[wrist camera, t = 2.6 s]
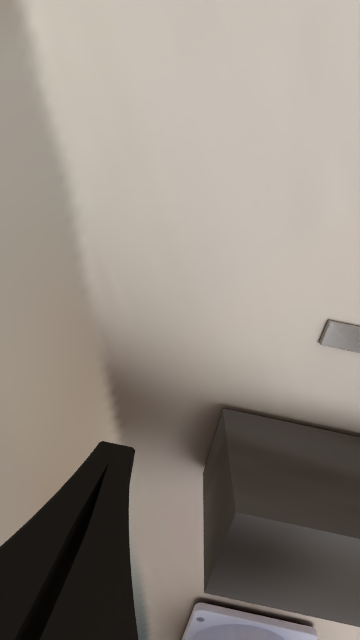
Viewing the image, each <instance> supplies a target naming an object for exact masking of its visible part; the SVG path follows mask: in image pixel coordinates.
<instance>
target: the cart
mask: <svg viewBox="0 0 360 640" xmlns="http://www.w3.org/2000/svg"><path fill="white" fill-rule="evenodd" d="M203 506H204V593H208V594H212V595H217V596H221V597H226V598H230V599H235V600H239V601H244V602H249V603H253V604H258V605H262V606H267V607H271V608H276V609H280V610H285V611H289V612H294V613H298V614H303V615H307V616H312V617H316V618H321V619H325V620H330V621H335V622H339V623H344V624H348V625H353V626H357V627H360V437H356V436H352V435H347V434H342V433H337V432H333V431H328V430H323V429H319V428H314V427H309V426H304V425H300V424H295V423H290V422H286V421H281V420H276V419H271V418H267V417H262V416H257V415H253V414H248V413H243V412H238V411H234V410H229V409H224V408H223V410H222V413H221V416H220V420H219V423H218V426H217V430H216V433H215V436H214V439H213V443H212V446H211V449H210V453H209V456H208V459H207V462H206V466H205V469H204V472H203Z"/></svg>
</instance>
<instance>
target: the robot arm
mask: <svg viewBox="0 0 360 640" xmlns="http://www.w3.org/2000/svg"><path fill="white" fill-rule="evenodd" d="M134 454H135V450H134V448H132V447H128V446H123V445H118V444H114V443H109V442H104V441H102V442H100V443H99V444H98V445H97V447H96V448H95V449H94V451H93V452H92V453H91V454H90V456H89V457H88V458H87V459H86V461H85V462H84V463H83V464H82V465H81V466H80V468H79V469H78V470H77V471H76V472H75V473H74V475H73V476H72V477H71V478H70V479H69V480H68V481H67V482H66V483H65V484H64V485H63V486H62V488H61V489H60V490H59V491H58V492H57V493H56V494H55V495H54V496H53V497H52V498H51V499H50V500H49V501H48V502H47V503H46V504H45V505H44V506H43V507H42V508H41V509H40V510H39V511H38V512H37V513H36V514H35V515H34V516H33V517H32V518H31V519H30V520H29V521H28V522H27V523H26V524H25V525H24V526H23V527H22V528H20V529H19V530H18V531H17V532H16V533H15V534H14V535H13V536H12V537H11V538H9V540H7V541H6V542H5V543H4V544H3V545H2V546H1V547H0V640H138V634H137V626H136V618H135V610H134V600H133V589H132V579H131V565H130V548H129V484H130V478H131V472H132V466H133V460H134ZM182 640H318V636H317V632H316V630H315V629H314V628H313V627H310V626H306V625H301V624H297V623H292V622H288V621H283V620H279V619H274V618H270V617H265V616H261V615H256V614H251V613H247V612H242V611H238V610H233V609H229V608H224V607H220V606H215V605H211V604H206V603H197V604H196V605H195V606H194V609H193V611H192V614H191V617H190V619H189V622H188V624H187V627H186V630H185V632H184V635H183V638H182Z"/></svg>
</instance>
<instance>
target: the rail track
mask: <svg viewBox="0 0 360 640" xmlns="http://www.w3.org/2000/svg"><path fill="white" fill-rule="evenodd" d="M319 343H320V344H321V345H324V346H329V347H334V348H339V349H343V350H348V351H353V352H358V353H360V326H356V325H351V324H346V323H341V322H337V321H332V320H328V322H327V324H326V327H325V329H324V331H323V334H322V336H321V338H320V341H319Z"/></svg>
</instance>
